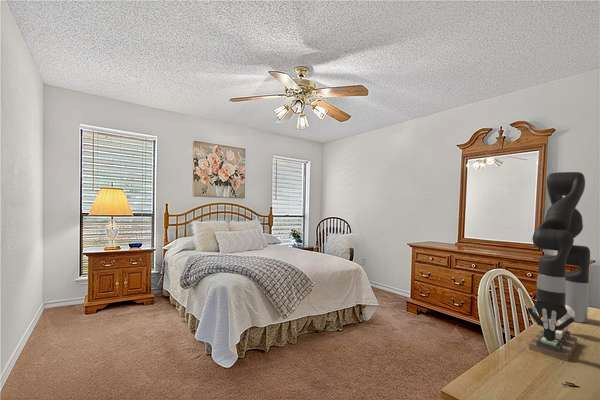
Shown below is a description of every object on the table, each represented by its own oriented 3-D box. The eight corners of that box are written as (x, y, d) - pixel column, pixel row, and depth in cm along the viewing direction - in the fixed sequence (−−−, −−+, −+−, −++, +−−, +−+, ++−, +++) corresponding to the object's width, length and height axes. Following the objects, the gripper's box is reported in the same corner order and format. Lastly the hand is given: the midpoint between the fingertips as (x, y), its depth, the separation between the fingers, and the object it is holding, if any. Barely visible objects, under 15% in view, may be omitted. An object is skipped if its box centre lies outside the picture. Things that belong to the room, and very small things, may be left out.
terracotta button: (552, 327, 116) (552, 322, 116) (566, 331, 113) (566, 325, 113) (550, 330, 113) (550, 324, 113) (564, 334, 110) (564, 328, 110)
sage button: (543, 342, 105) (543, 336, 105) (558, 346, 102) (558, 340, 102) (540, 345, 102) (540, 339, 102) (555, 350, 99) (556, 343, 99)
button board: (542, 333, 118) (543, 324, 118) (577, 343, 111) (577, 333, 111) (528, 349, 104) (529, 339, 104) (567, 361, 96) (567, 350, 96)
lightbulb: (575, 337, 116) (576, 308, 116) (553, 332, 120) (554, 304, 120) (573, 332, 121) (574, 304, 121) (552, 327, 125) (553, 301, 125)
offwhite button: (548, 332, 110) (548, 327, 110) (562, 336, 107) (562, 331, 107) (545, 335, 108) (545, 329, 108) (560, 339, 105) (560, 333, 105)
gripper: (579, 291, 100) (577, 344, 100) (529, 282, 110) (528, 331, 109) (575, 295, 95) (574, 351, 95) (524, 285, 105) (522, 336, 105)
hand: (549, 340), depth 102 cm, fingers closed
